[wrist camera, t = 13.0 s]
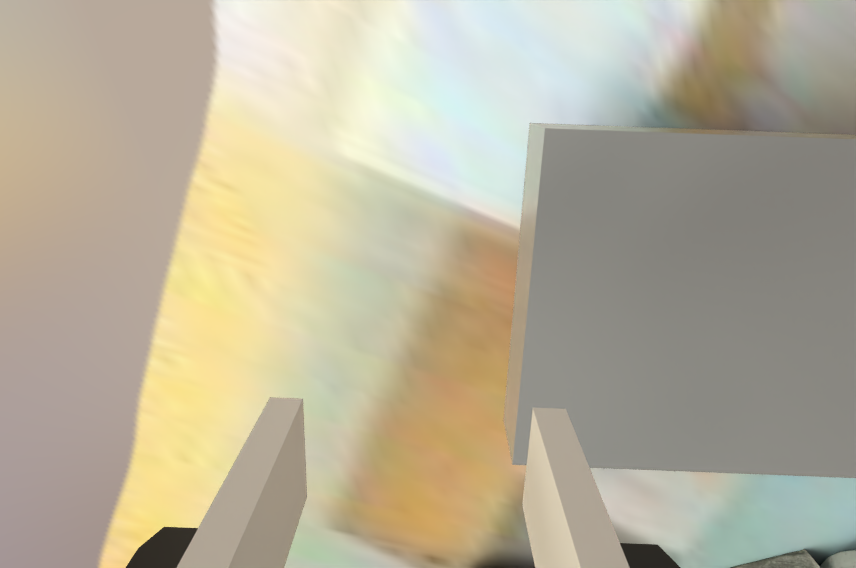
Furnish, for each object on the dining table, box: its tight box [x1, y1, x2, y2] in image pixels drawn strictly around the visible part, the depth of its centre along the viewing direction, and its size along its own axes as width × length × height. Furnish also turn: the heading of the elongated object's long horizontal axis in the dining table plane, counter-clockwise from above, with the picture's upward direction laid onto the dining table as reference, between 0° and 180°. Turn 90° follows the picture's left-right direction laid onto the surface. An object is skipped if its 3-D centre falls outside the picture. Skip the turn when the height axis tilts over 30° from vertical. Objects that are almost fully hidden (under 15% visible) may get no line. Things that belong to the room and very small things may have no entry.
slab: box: [504, 123, 856, 478], centre depth 24 cm, size 14×16×4 cm
